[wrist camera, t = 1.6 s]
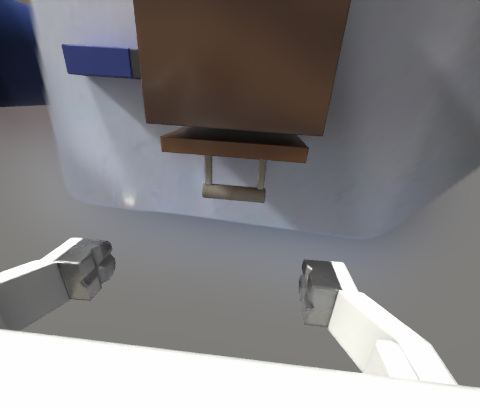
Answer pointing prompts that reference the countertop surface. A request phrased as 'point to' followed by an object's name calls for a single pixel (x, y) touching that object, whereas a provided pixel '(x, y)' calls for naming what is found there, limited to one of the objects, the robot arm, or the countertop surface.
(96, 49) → the blue and gray block
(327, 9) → the cabinet
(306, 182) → the countertop surface
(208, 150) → the drawer
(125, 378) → the robot arm
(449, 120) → the countertop surface
